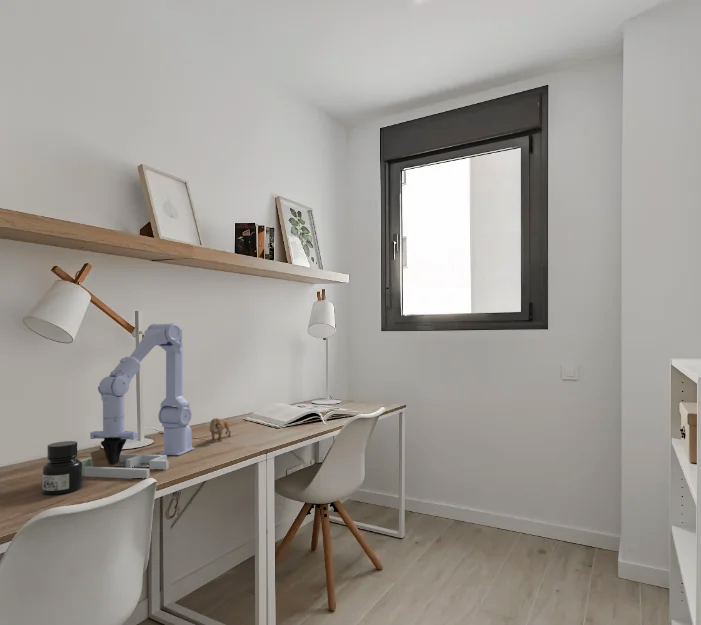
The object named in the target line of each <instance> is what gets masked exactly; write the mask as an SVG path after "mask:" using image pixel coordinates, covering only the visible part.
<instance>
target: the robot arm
mask: <svg viewBox="0 0 701 625" xmlns="http://www.w3.org/2000/svg"><path fill="white" fill-rule="evenodd" d="M143 335H144V336H143V337H142V339H141V340H140V342H139V343H138V344H137V346H136V347H135V349H134V350H133V352H132V353H131V355H130V356H124V358H123V357H122V358H121V359H120V360H119V364H118V365H117V366H116V367H114V369H113V370H112V371H111V372H110V374H109V375H108V376H105V377H104V378H102V379H101V380H100V382H99V386H97V391H98V393H99V394H100V397H101V401H102V430H95V431H91V432H89V434H90V435H89V437H90V440H95V439H98V440H99V439H101V442H100V444H101V446H102V447H103V448H104V449H105V451H106V453H107V456H108V459H109V463H110V465H114V464H117V463H118V461H119V457H120V454H122V453H121V452H122V451H123V449H124V448H123V447H124V445H125V444H126V442H127V440H130V441H135V440H137V439H138V431H130V430H125V395H126V393H128V392H129V388H130V384H131V381H132V379H133V378H134V377H135V375H136V374H137V373H138V372H139V370H140V369H141V361H143V360H144V358H145V357H146V356H147V355H149V353H150V352H151V351H152V350H153V349H154V348H155V347H156V346H159V347H160V348H161V349H163V351H165V356H166V357H165V398H164V399H163V400H162V401H161V403H160V409H159V411H158V421H159V423H160V424H161V427H163V451H161V452H158V455H167V456H181V455H183V454H185V453H187V452H189V451H192V450H194V449H195V447H193V440H192V439H193V437H192V436H193V430H192V428H191V426H190V425H189V423H190V422H191V421H192V420H191V419H192V410H191V407H190V402H189V401H188V400H187V399H186V398H185V397H184V344H183V329H182V328H181V327H180V326H179V325H178V324H177V323H175V322H174V323H173V322H172V323H158V324H157V323H152V324H150V325H148V326H147V329H146V330H144V333H143ZM102 439H103V440H102Z"/></svg>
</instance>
